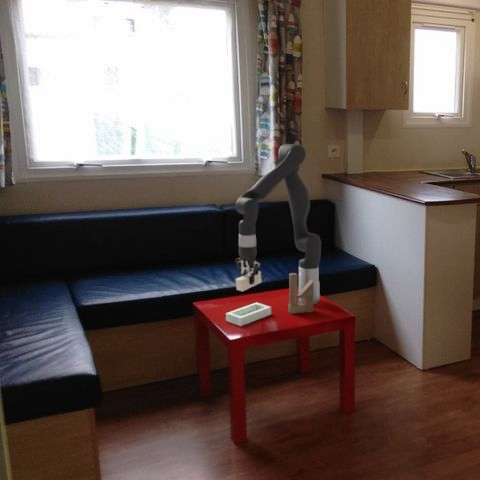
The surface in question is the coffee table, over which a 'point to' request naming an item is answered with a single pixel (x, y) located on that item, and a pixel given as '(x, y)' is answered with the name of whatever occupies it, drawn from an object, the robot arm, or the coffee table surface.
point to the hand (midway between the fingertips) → (248, 282)
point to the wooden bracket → (300, 296)
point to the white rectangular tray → (248, 314)
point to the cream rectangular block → (247, 282)
